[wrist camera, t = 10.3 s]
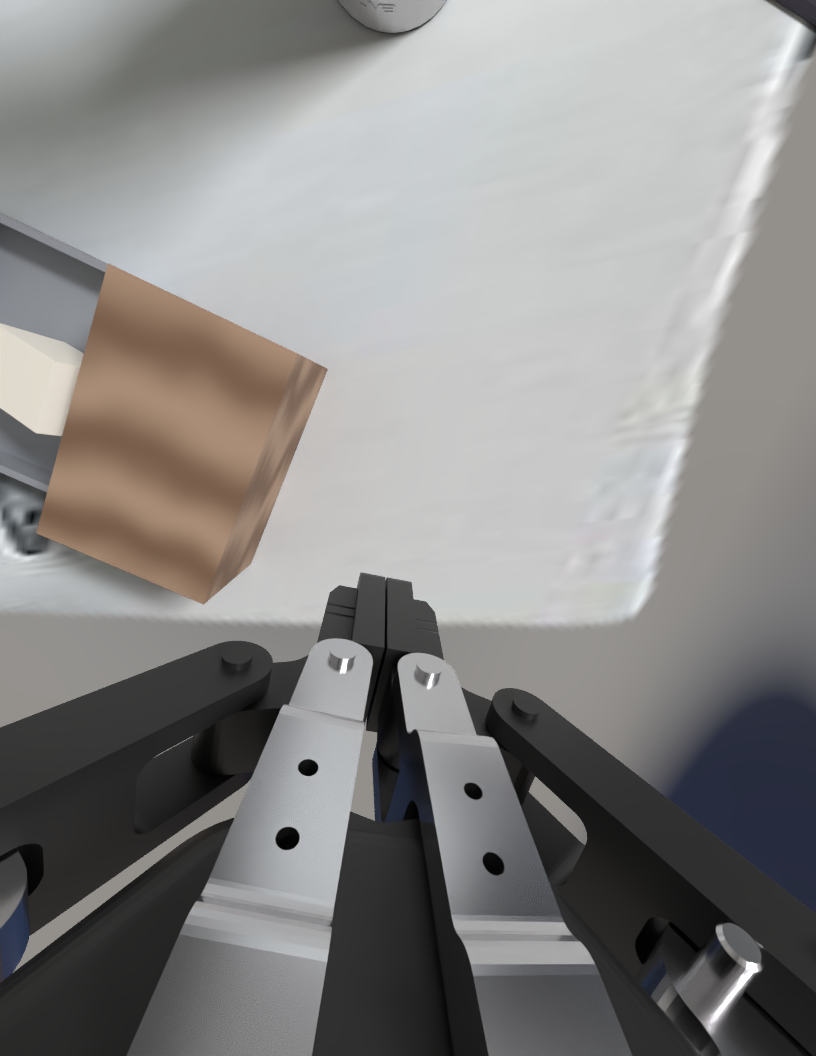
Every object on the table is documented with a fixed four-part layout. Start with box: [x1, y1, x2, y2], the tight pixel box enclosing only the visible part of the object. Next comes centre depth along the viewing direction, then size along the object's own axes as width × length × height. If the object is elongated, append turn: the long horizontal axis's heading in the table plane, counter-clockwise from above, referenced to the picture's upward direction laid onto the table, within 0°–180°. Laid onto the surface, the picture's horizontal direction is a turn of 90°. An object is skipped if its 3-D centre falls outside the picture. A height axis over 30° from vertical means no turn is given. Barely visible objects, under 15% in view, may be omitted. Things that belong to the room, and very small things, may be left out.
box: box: [0, 213, 107, 492], centre depth 35 cm, size 18×15×3 cm
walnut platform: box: [36, 264, 327, 604], centre depth 33 cm, size 18×12×9 cm, turn 155°
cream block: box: [0, 323, 84, 436], centre depth 33 cm, size 5×5×8 cm
